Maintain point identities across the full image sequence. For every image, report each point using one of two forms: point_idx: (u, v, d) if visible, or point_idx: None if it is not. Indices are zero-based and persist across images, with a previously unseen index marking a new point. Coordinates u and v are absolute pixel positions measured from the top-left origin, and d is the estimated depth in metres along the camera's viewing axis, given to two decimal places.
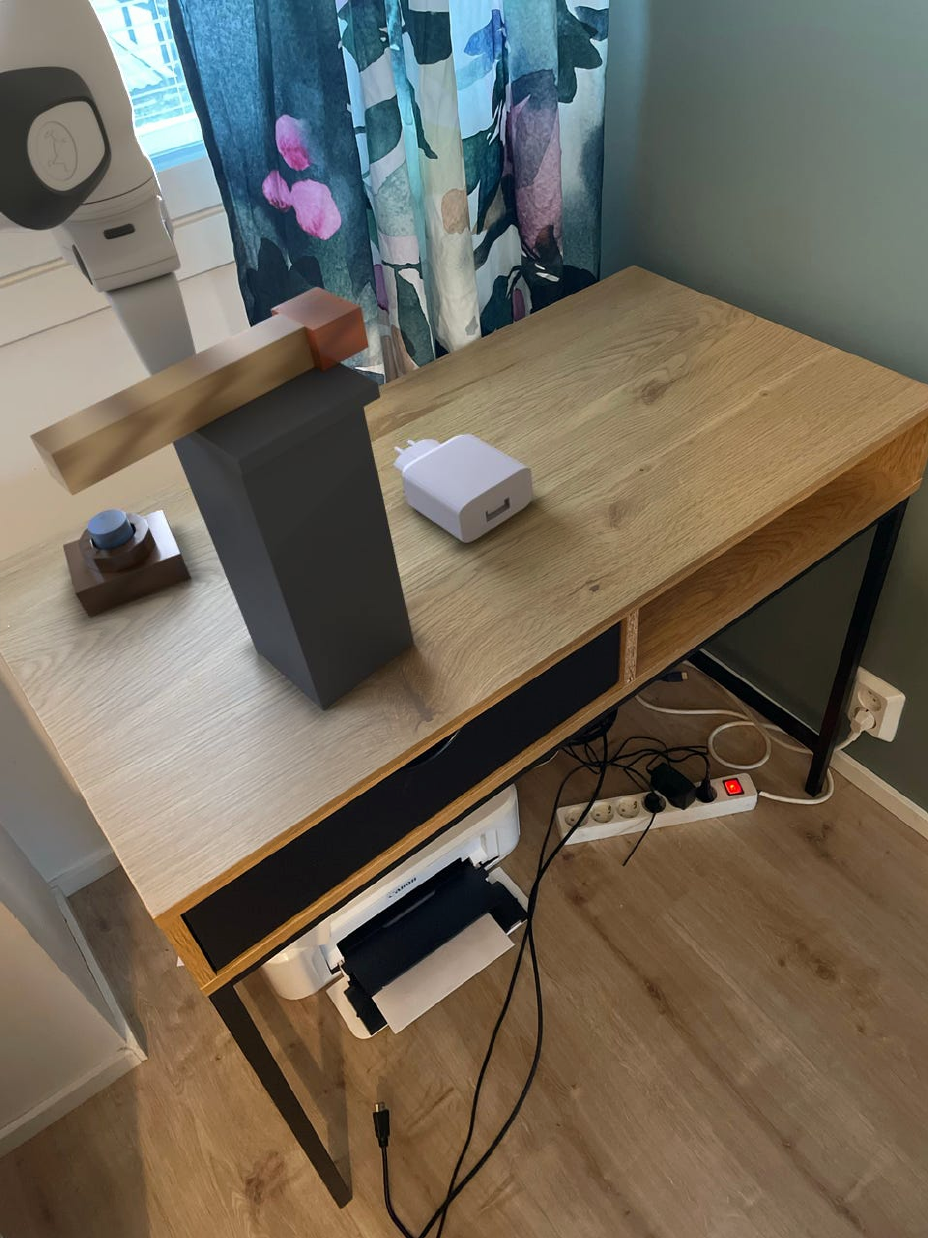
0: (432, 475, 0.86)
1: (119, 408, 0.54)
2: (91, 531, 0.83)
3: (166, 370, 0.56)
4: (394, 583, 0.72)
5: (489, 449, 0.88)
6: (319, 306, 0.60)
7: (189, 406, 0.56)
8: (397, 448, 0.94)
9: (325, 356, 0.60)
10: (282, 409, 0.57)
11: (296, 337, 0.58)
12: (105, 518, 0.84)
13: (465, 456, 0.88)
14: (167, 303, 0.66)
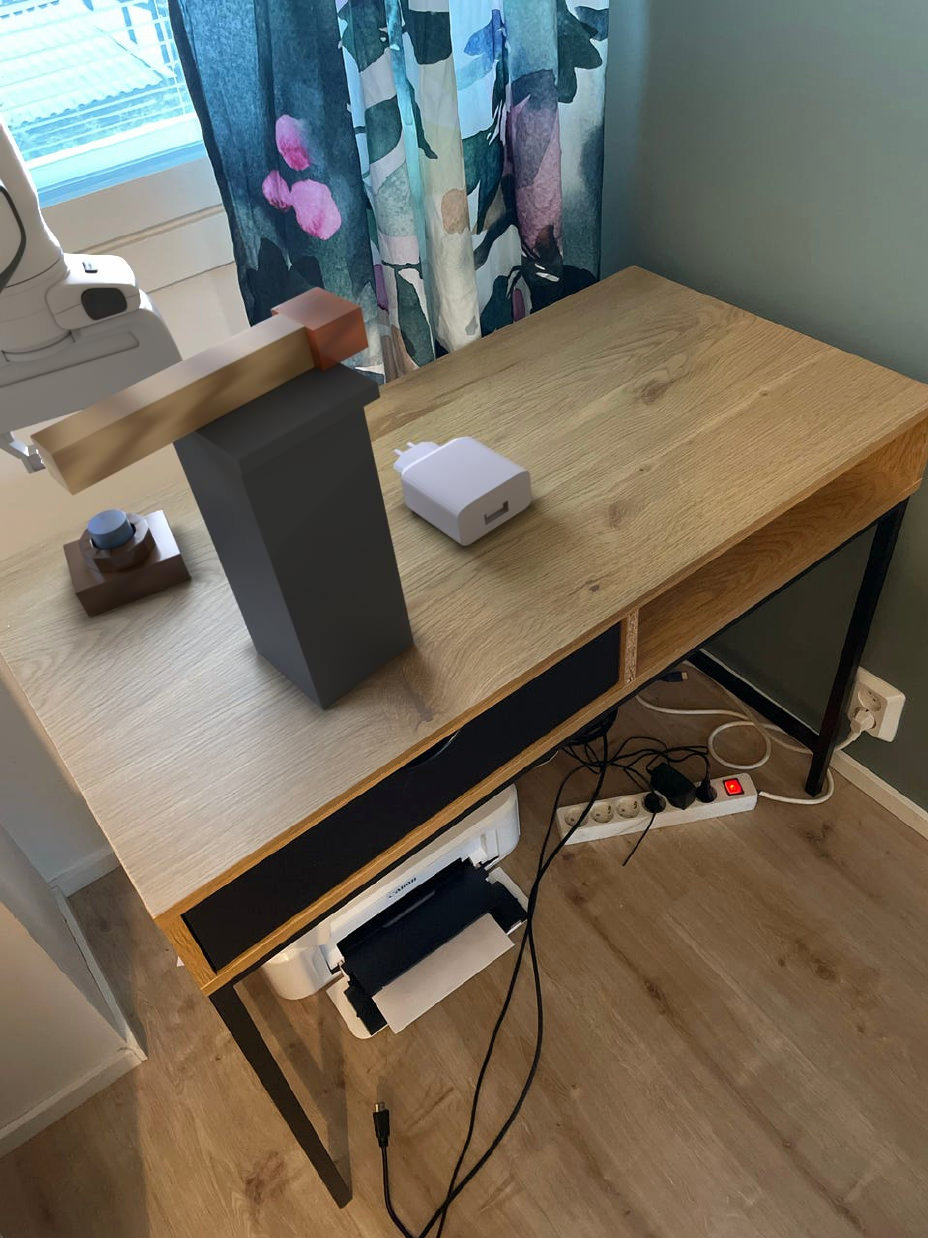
0: (431, 477, 0.86)
1: (119, 408, 0.54)
2: (91, 531, 0.83)
3: (166, 370, 0.56)
4: (394, 583, 0.72)
5: (488, 452, 0.88)
6: (319, 306, 0.60)
7: (189, 406, 0.56)
8: (396, 450, 0.94)
9: (325, 356, 0.60)
10: (282, 409, 0.57)
11: (296, 337, 0.58)
12: (105, 518, 0.84)
13: (464, 459, 0.88)
14: (152, 302, 0.74)
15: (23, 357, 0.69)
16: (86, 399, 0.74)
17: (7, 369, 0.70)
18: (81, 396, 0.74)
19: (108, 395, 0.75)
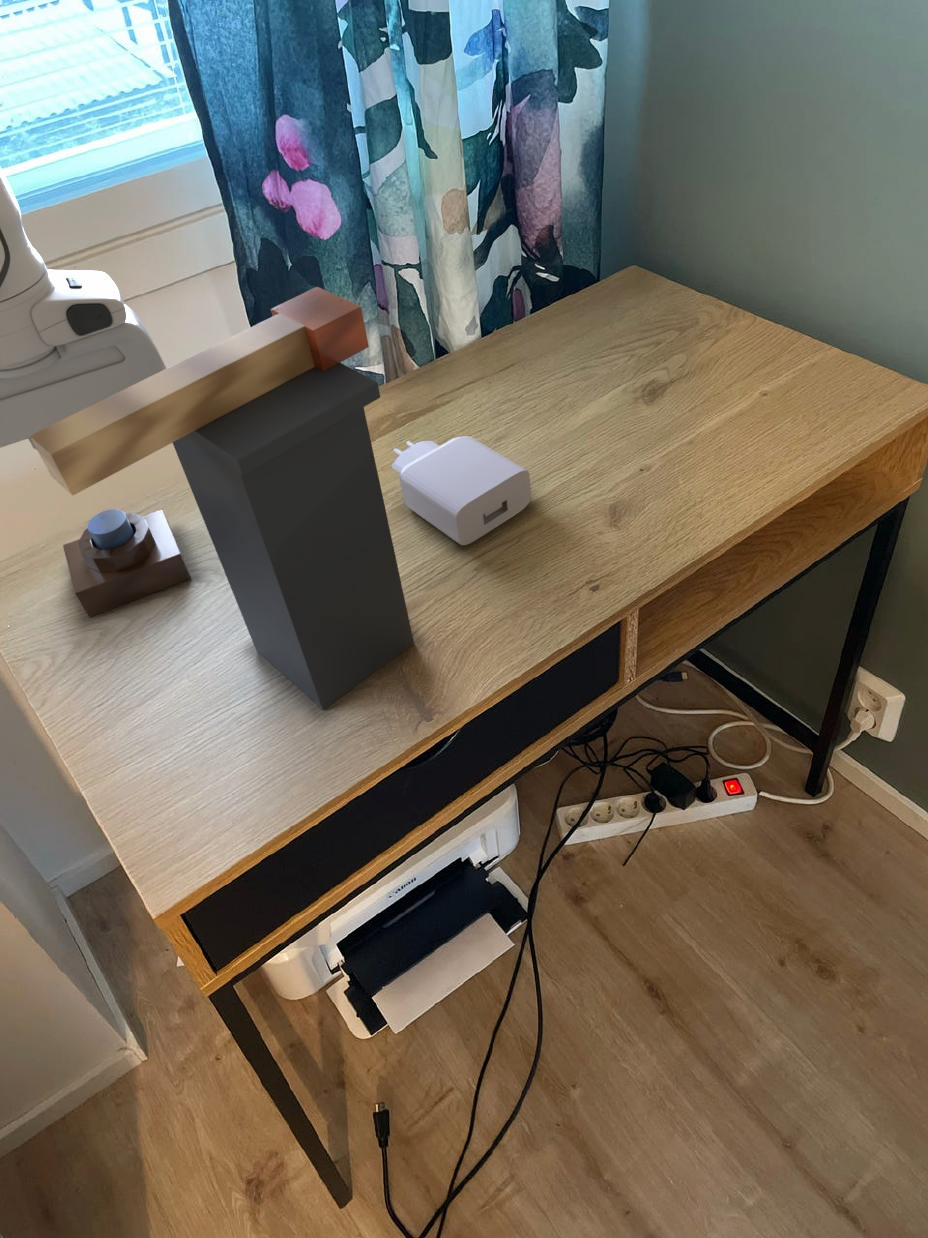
0: (430, 477, 0.86)
1: (119, 408, 0.54)
2: (91, 531, 0.83)
3: (166, 370, 0.56)
4: (394, 583, 0.72)
5: (487, 451, 0.88)
6: (319, 306, 0.60)
7: (189, 406, 0.56)
8: (396, 449, 0.94)
9: (325, 356, 0.60)
10: (282, 409, 0.57)
11: (296, 337, 0.58)
12: (105, 518, 0.84)
13: (463, 459, 0.88)
14: (137, 316, 0.74)
15: (9, 374, 0.69)
16: (72, 414, 0.74)
17: None
18: (67, 411, 0.74)
19: None
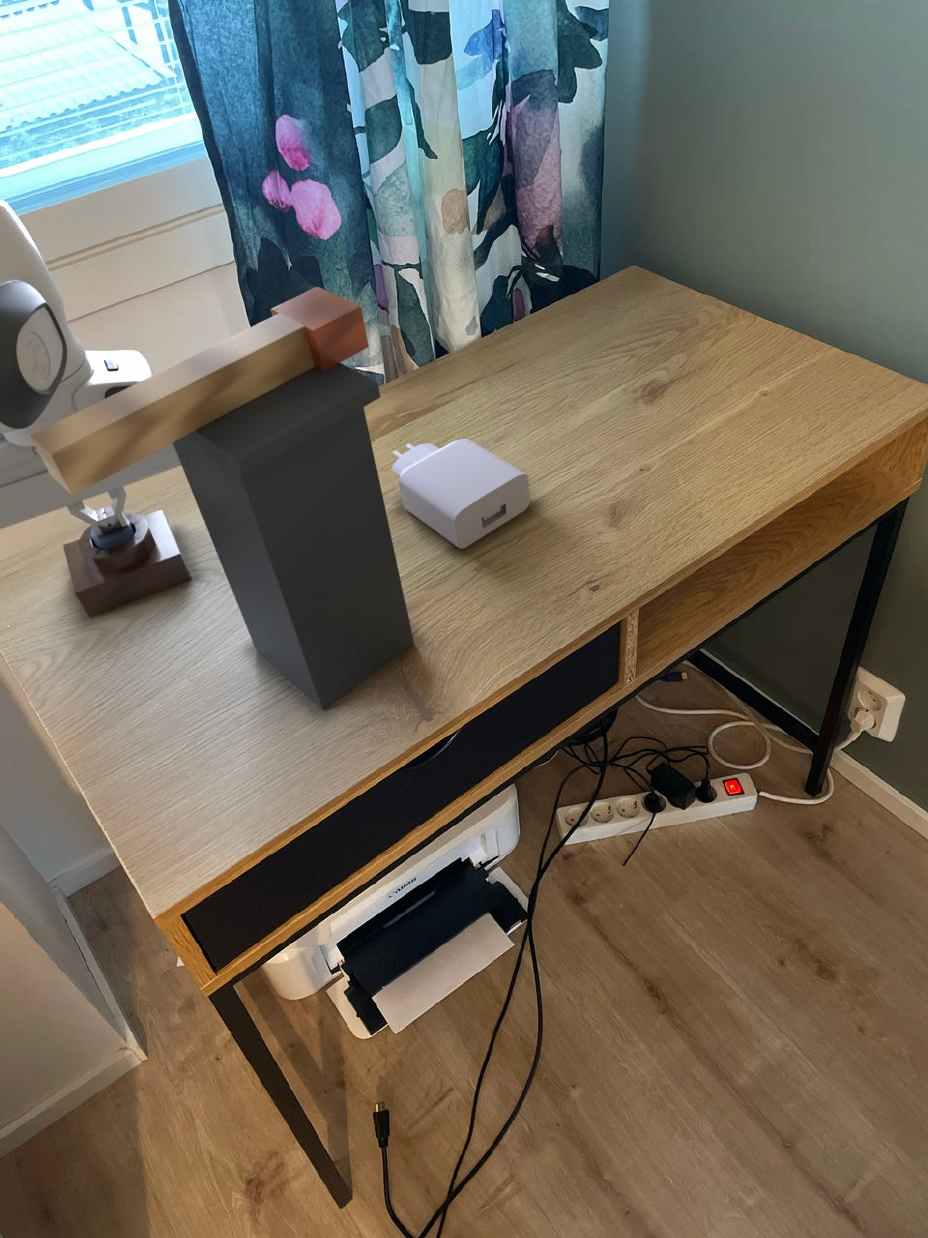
0: (428, 480, 0.86)
1: (119, 408, 0.54)
2: (94, 537, 0.83)
3: (166, 370, 0.56)
4: (394, 583, 0.72)
5: (486, 455, 0.88)
6: (319, 306, 0.60)
7: (189, 406, 0.56)
8: (395, 452, 0.94)
9: (325, 356, 0.60)
10: (282, 409, 0.57)
11: (296, 337, 0.58)
12: None
13: (462, 462, 0.88)
14: None
15: None
16: (108, 483, 0.79)
17: (35, 461, 0.75)
18: (103, 481, 0.79)
19: (128, 479, 0.80)
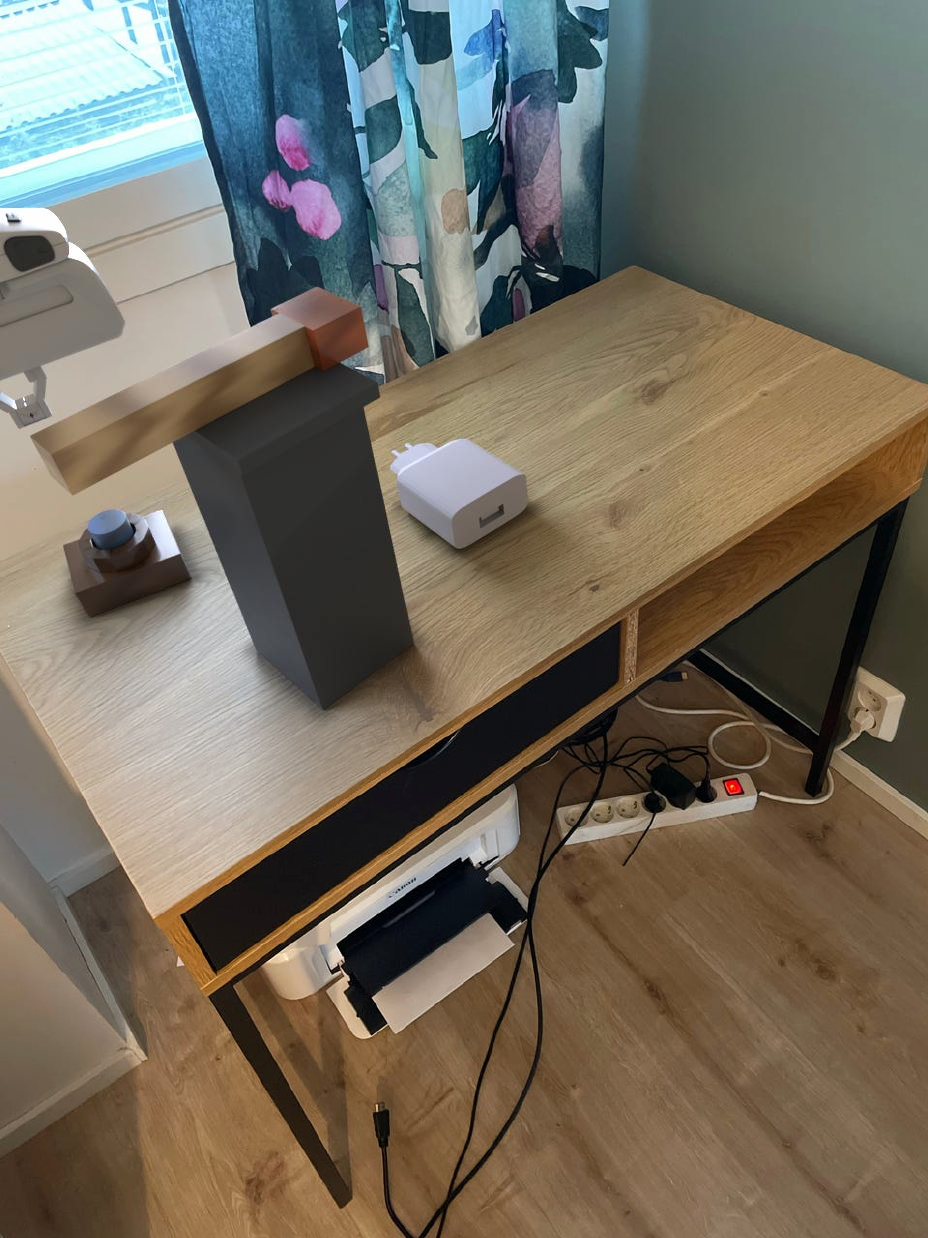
0: (426, 479, 0.86)
1: (119, 408, 0.54)
2: (91, 531, 0.83)
3: (166, 370, 0.56)
4: (394, 583, 0.72)
5: (485, 454, 0.88)
6: (319, 306, 0.60)
7: (189, 406, 0.56)
8: (394, 451, 0.93)
9: (325, 356, 0.60)
10: (282, 409, 0.57)
11: (296, 337, 0.58)
12: (105, 518, 0.84)
13: (460, 461, 0.87)
14: (85, 255, 0.71)
15: None
16: (22, 361, 0.70)
17: None
18: (17, 358, 0.70)
19: (45, 356, 0.71)
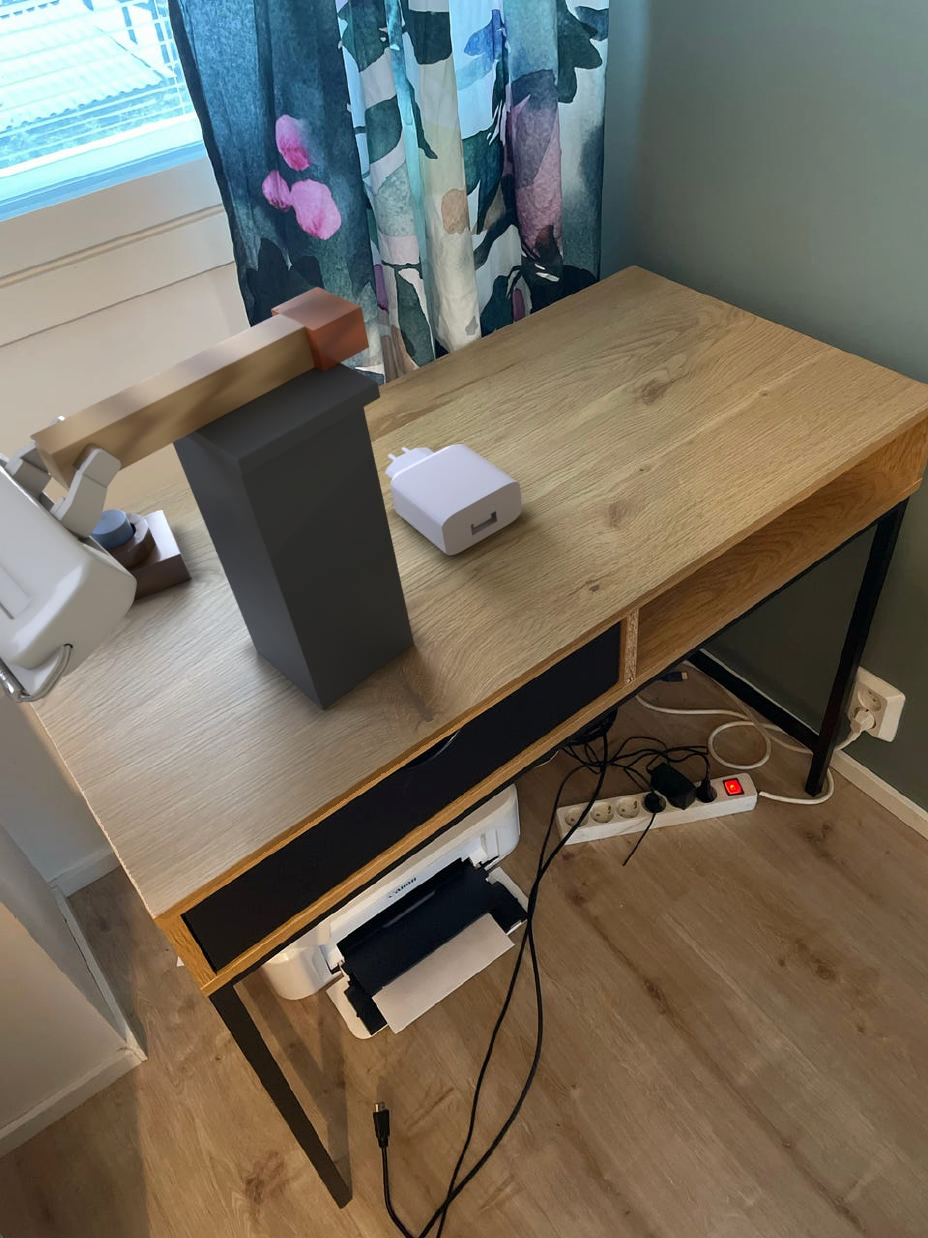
0: (419, 485, 0.85)
1: (119, 408, 0.54)
2: None
3: (166, 370, 0.56)
4: (394, 583, 0.72)
5: (480, 461, 0.87)
6: (319, 307, 0.60)
7: (189, 406, 0.56)
8: (390, 455, 0.93)
9: (325, 356, 0.60)
10: (282, 409, 0.57)
11: (296, 337, 0.58)
12: (105, 518, 0.84)
13: (454, 467, 0.87)
14: None
15: None
16: None
17: None
18: None
19: None
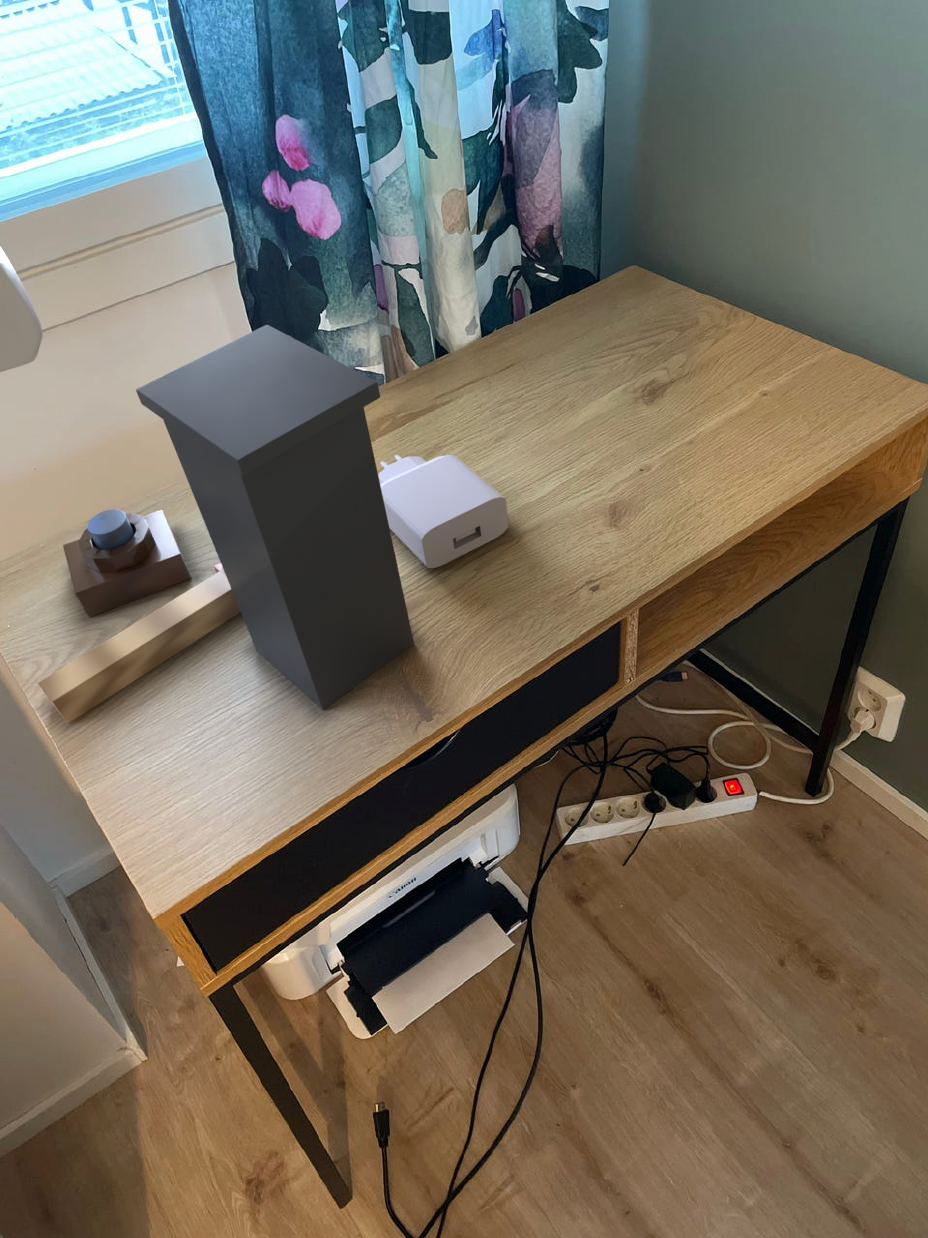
0: (404, 495, 0.85)
1: (100, 660, 0.76)
2: (91, 531, 0.83)
3: (135, 624, 0.79)
4: (394, 583, 0.72)
5: (468, 474, 0.86)
6: None
7: (151, 653, 0.78)
8: (382, 463, 0.92)
9: None
10: (282, 409, 0.57)
11: (230, 594, 0.81)
12: (105, 518, 0.84)
13: (441, 479, 0.86)
14: None
15: None
16: None
17: None
18: None
19: None
